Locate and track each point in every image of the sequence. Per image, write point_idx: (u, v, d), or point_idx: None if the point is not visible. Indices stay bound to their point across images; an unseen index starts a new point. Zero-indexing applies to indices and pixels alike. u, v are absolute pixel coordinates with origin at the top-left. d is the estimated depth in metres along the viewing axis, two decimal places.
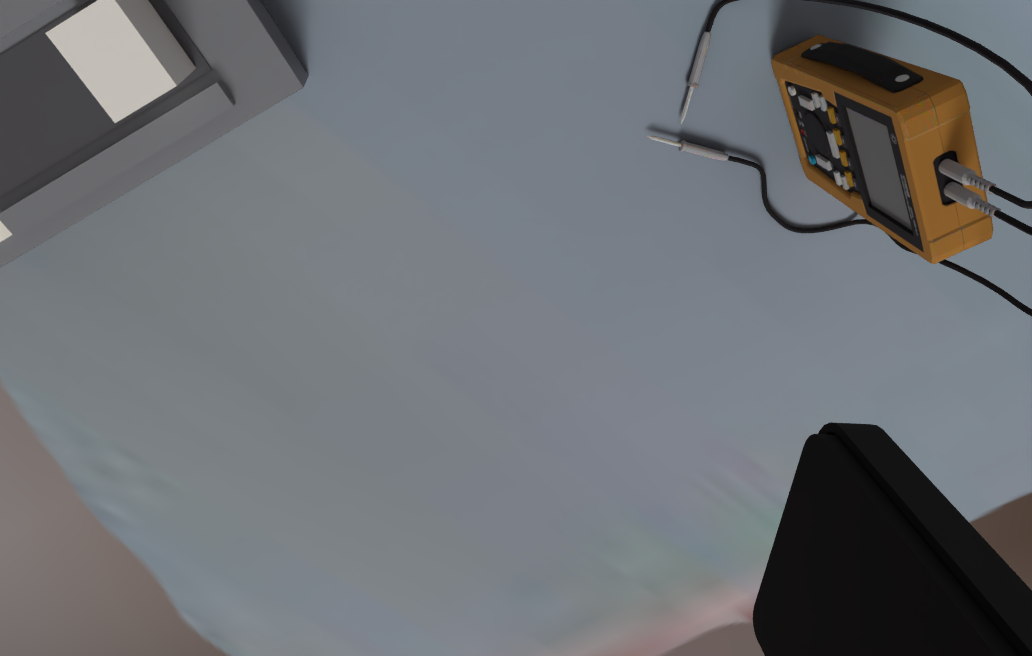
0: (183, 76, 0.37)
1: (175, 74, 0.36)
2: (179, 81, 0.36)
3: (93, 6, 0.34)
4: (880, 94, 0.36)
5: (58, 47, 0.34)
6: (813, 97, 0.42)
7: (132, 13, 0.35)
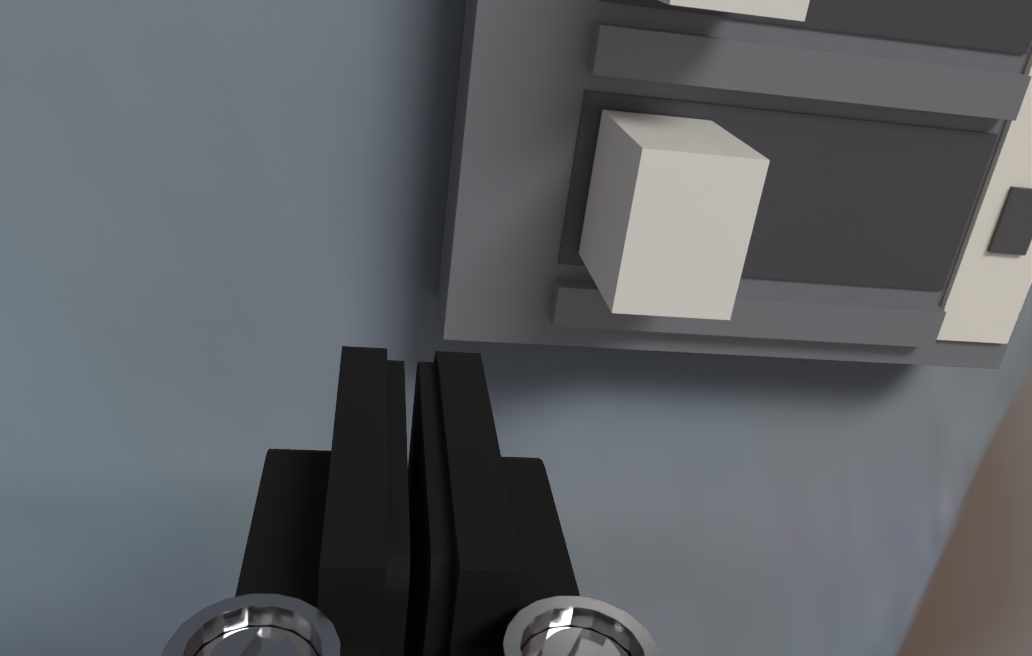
0: None
1: None
2: None
3: None
4: None
5: None
6: None
7: None
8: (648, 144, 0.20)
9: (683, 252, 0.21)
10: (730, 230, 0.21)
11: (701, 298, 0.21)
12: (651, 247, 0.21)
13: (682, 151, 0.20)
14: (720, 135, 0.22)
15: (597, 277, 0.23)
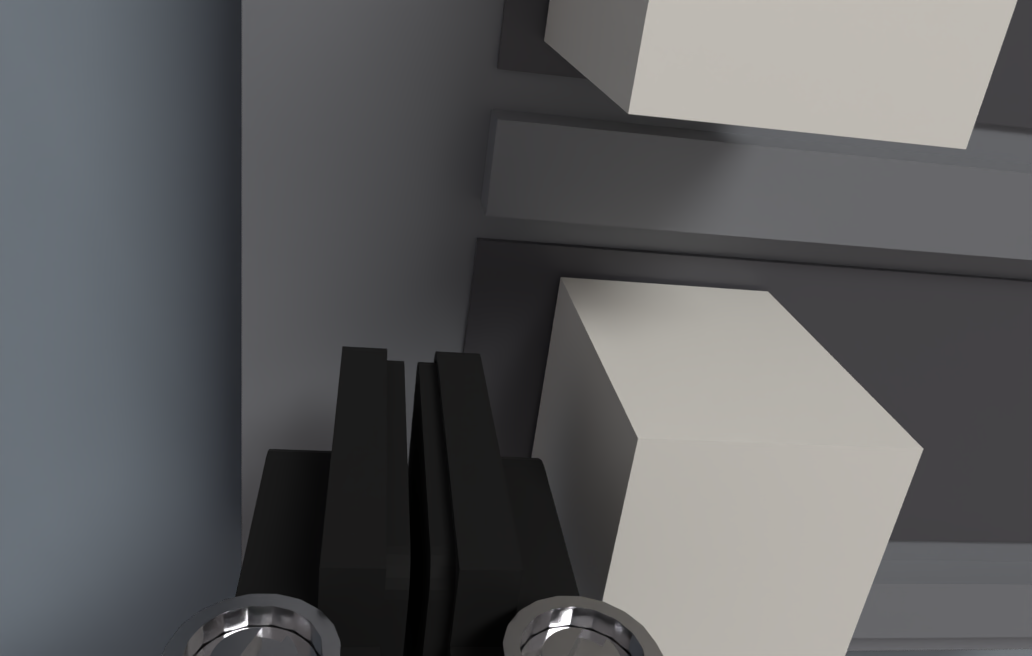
0: None
1: None
2: None
3: None
4: None
5: None
6: None
7: None
8: (651, 413, 0.09)
9: (726, 625, 0.10)
10: (827, 581, 0.10)
11: None
12: (657, 620, 0.09)
13: (729, 439, 0.09)
14: (796, 349, 0.11)
15: None
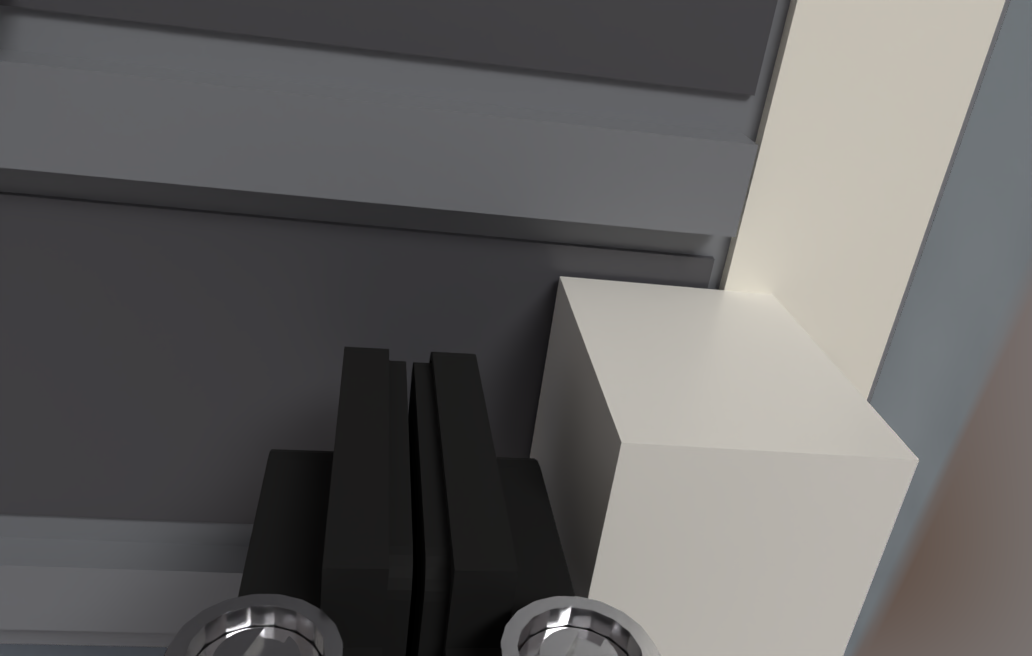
0: None
1: None
2: None
3: None
4: None
5: None
6: None
7: None
8: (638, 416, 0.09)
9: (714, 634, 0.09)
10: (819, 593, 0.09)
11: None
12: (643, 627, 0.09)
13: (716, 444, 0.08)
14: (795, 354, 0.11)
15: None
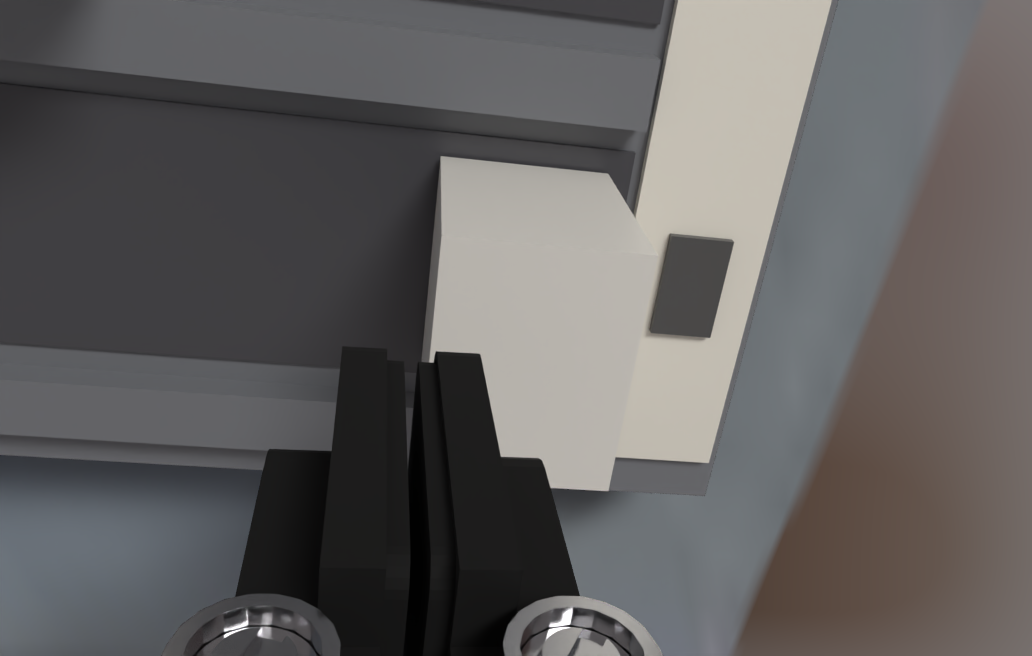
0: None
1: None
2: None
3: None
4: None
5: None
6: None
7: None
8: (461, 225, 0.12)
9: (525, 393, 0.13)
10: (599, 361, 0.13)
11: (560, 460, 0.14)
12: None
13: (510, 240, 0.12)
14: (603, 203, 0.14)
15: None
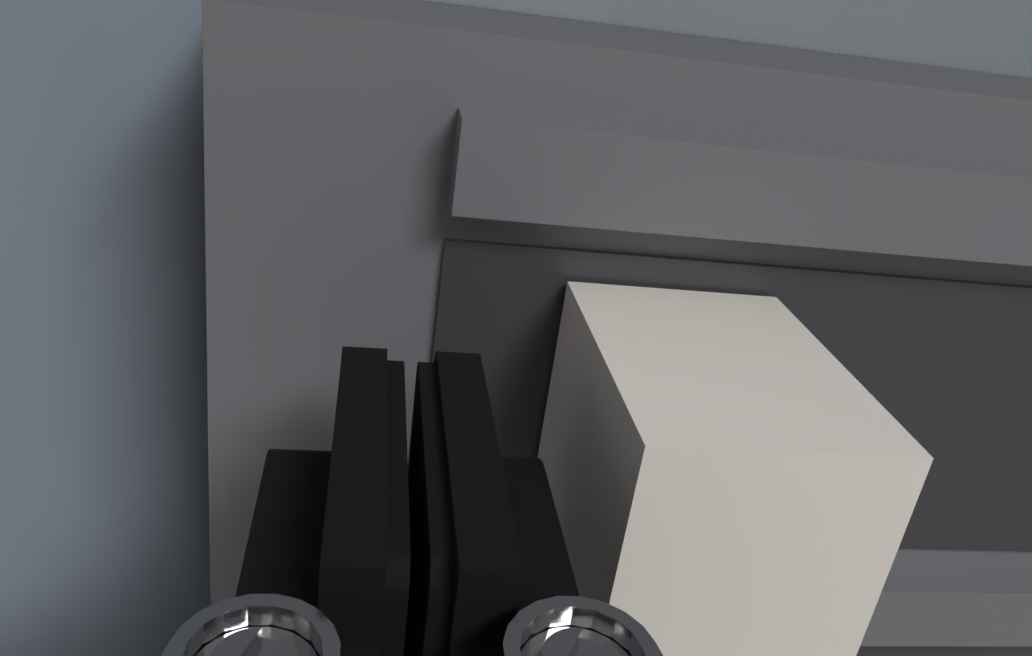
0: (606, 374, 0.10)
1: (617, 429, 0.09)
2: (626, 414, 0.09)
3: None
4: None
5: None
6: None
7: None
8: None
9: None
10: None
11: None
12: None
13: None
14: None
15: None
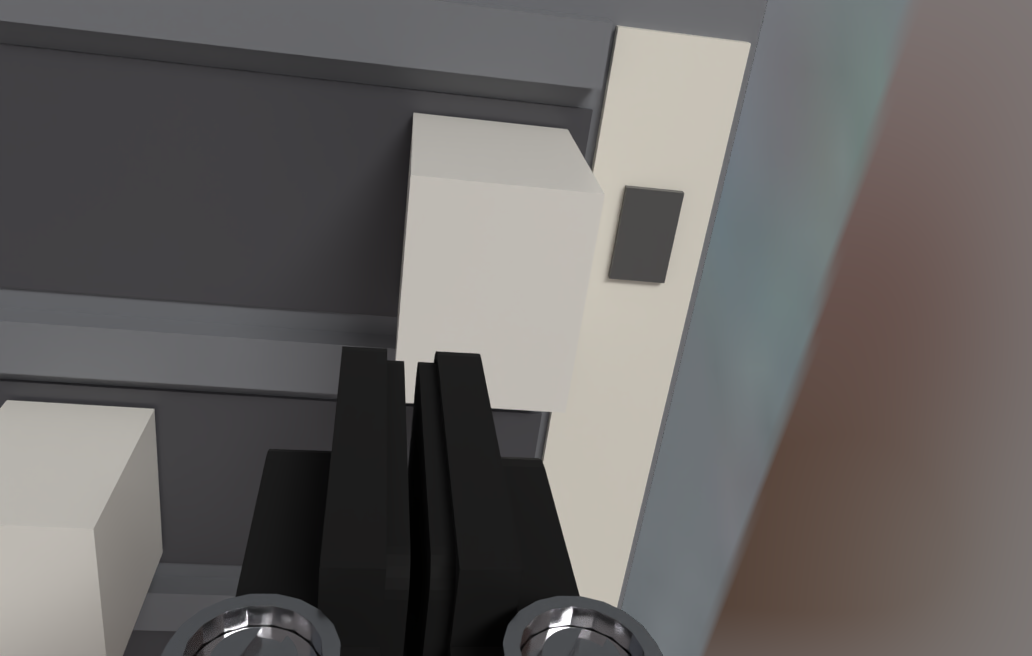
0: (411, 152, 0.15)
1: (409, 180, 0.14)
2: (410, 165, 0.14)
3: None
4: None
5: (566, 380, 0.15)
6: None
7: None
8: None
9: None
10: None
11: None
12: None
13: None
14: None
15: None
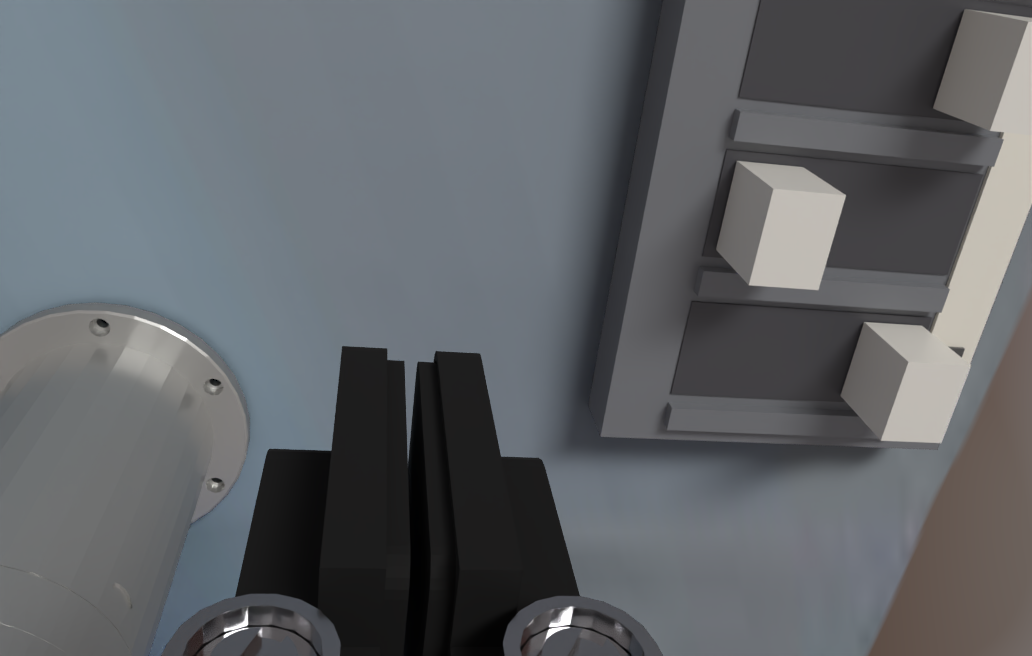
0: (1000, 18, 0.34)
1: (1010, 28, 0.33)
2: (1016, 20, 0.33)
3: (1010, 130, 0.34)
4: None
5: None
6: None
7: (983, 100, 0.34)
8: (908, 357, 0.39)
9: (922, 410, 0.39)
10: (947, 399, 0.39)
11: (928, 432, 0.40)
12: (906, 408, 0.39)
13: (927, 362, 0.38)
14: (935, 342, 0.40)
15: (863, 416, 0.41)
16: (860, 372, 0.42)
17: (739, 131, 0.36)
